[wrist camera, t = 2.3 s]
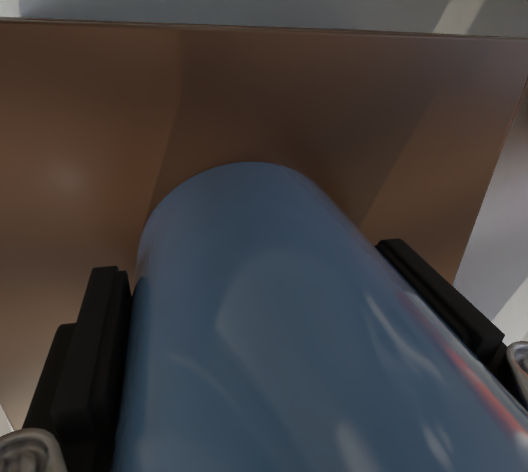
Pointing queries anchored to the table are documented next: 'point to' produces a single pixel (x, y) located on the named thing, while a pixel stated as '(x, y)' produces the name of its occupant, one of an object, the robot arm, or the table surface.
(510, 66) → the walnut shelf
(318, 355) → the blue cup
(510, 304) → the table surface
